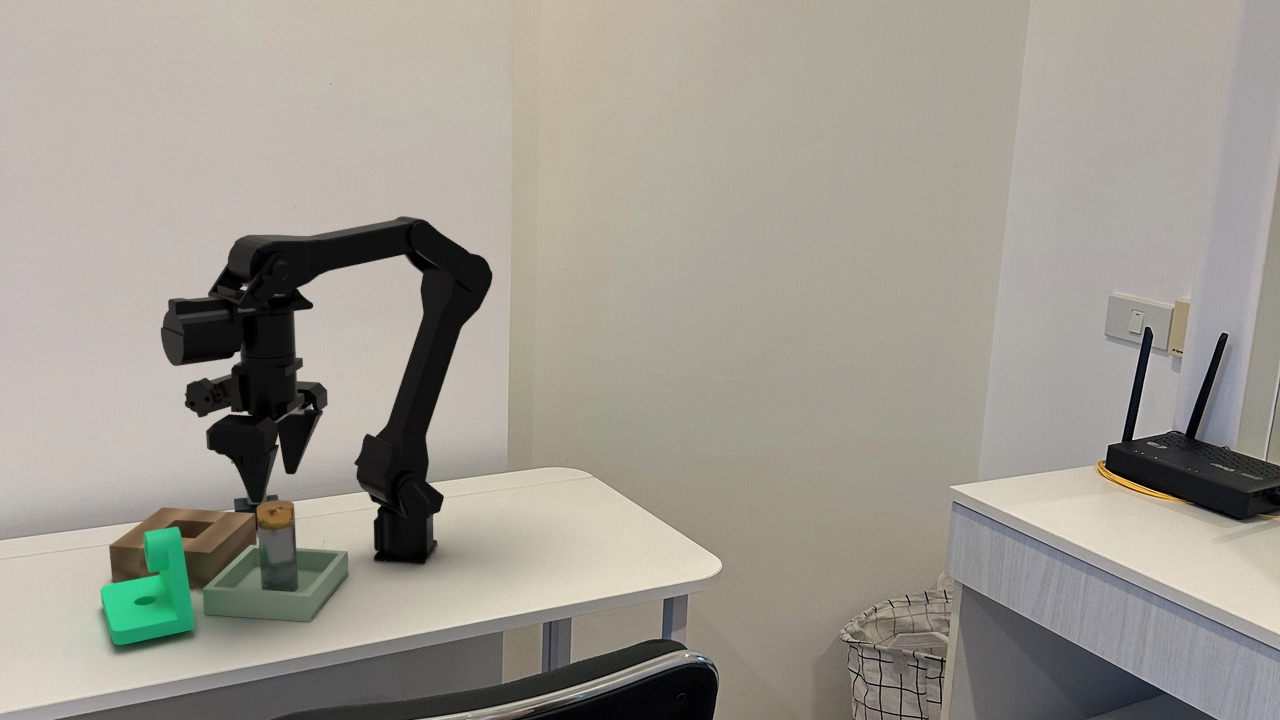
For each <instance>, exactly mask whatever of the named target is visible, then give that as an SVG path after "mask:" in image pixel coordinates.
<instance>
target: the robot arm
mask: <svg viewBox="0 0 1280 720" xmlns="http://www.w3.org/2000/svg"><path fill="white" fill-rule="evenodd" d="M399 256H404V257H405V258H406V259H407V261H408V262H409V263H410V264H411V266H412V267H414V268H415V269H416V270H418V271H419V272H420V273H421V274H422V278H421V283H420V289H419V291H420V299H421V304H422V312H423V313H422V319H421V321H420V325H419V328H418V330H417V333H416V336H415V339H414V343H413V345H412V349H411V351H410V355H409V357H408V361H407V364H406V367H405V370H404V373H403V376H402V378H401V382H400V384H399V388H398V390H397V393H396V397H395V399H394V403H393V405H392V408H391V412H390V415H389V418H388V421H387V423H386V425H385V426H384V427H383V428H382V429H381V430H380V431H379V432H378V434H376V435H375V436H374V435H372V434H370V433H366V434H365V435H364V437H363V439H362V444H361V445H362V446H361V449H360V452H359V455H358V457H357V458H356V460H355V461H354V463H353V464H354V465H355V466H357V469H356V480H357V482H358V484H359V486H360V488H361V489H362V491H364V492H366V493H368V496H369V499H370V500H371V502H372V503H376V504H377V505H380V506H379V507H378V509H377V516H376V517H375V519H374V520H373V548H374V550H375V551H377V552H376V553H375V555H374V556H373V561H374V562H383V563H384V562H386V563H399V564H413V565H415V564H417V565H423V564H426V563H427V561H428V560H429V558H430V557H431V555H432V554H433V552H434V550H435V549H436V547H437V545H438V540H436V539H434V515H435V514H438V513H440V511H441V509H442V506H443V502H444V499H445V496H444V494H442V493H441V492H440V491H438V490H437V489H436V488H435V487H433V486H432V485H431V484H430V483H429V482H427V476H428V471H429V470H428V469H429V466H430V459H429V453H428V452H429V451H428V444H427V434H428V431H429V428H430V424H431V422H432V419H433V416H434V412H435V410H436V407H437V403H438V400H439V397H440V394H441V391H442V390H443V389H442V388H443V385H444V383H445V379H446V376H447V373H448V370H449V366H450V364H451V362H452V358H453V355H454V353H455V349H456V345H457V343H458V340H459V336H460V333H461V331H462V328H463V326H464V325H465V324H466V323H467V322H468V321H469V320H470V319H471V318H473V316H474V315H475V314H476V313H477V312H478V311H479V309H480V308H481V306H483V305H482V304H483V302H484V301H485V299H486V296H487V294H488V292H489V291H490V288H491V285H492V282H493V271H492V270H491V267H490V264H489V263H488V261H487V259H486V258H485V257H484V256H482V255H480V254H476V253H471V252H469V250H467V249H466V248H464V247H463V246H461V245H460V244H458V243H457V242H455V241H454V240H452V239H450V238H449V237H447V236H445V234H443V233H442V232H440V231H439V230H438V229H437V228H435V227H434V226H433V225H432V224H431V223H430V222H429V221H427V220H425V219H424V218H417V217H412V216H407V215H405V216H404V215H403V216H402V215H401V216H398V217H396V218H395V219H392V220H386V221H382V222H381V221H380V222H377V223H370V224H365V225H359V226H354V227H350V228H344V229H339V230H333V231H328V232H323V233H318V234H311V235H291V234H289V235H288V234H247V235H245V236H242V237H239V238H238V239H236V240H235V241H234V244H233V246H232V247H231V248H230V250H229V252H228V255H227V263H226V264H225V266H224V268H223V270H222V271H221V273H220V274H219V275H218V277H217V279H215V281H214V283H213V284H212V286H211V288H210V289H209V291H208V293H207V296H205V297H195V298H183V297H178V298H177V297H175V298H170V299H168V300H167V305H168V306H167V307H168V311H166V313H165V314H164V317H163V321H162V327H160V338H161V344H162V348H163V351H164V354H165V356H166V358H167V360H168V361H169V363H170V364H171V365H172V366H174V367H180V366H187V365H192V364H193V365H194V364H201V363H208V362H214V361H221V360H228V359H232V358H233V357H234V356H235V354H236V353H240V354H239V355H240V361H238V362H237V363H235V364H233V366H232V367H231V369H230V373H229V374H225V375H224V376H220V377H216V378H214V379H211V380H209V378H208V377H203V378H201V379H199V380H194V381H191V382H189V383H188V384H186V387H185V388H186V390H185V391H186V392H185V393H184V396H185V401H184V405H185V408H187V409H189V410H190V411H191V412H193V413H196V415H197V418H200V419H201V418H204V417H207V416H208V415H209V414H211V413H214V412H217V411H221V410H224V409H227V408H230V411H231V413H233V414H231V413H230V414H229V413H228V414H227V415H225V416H224V417H222V418H220V419H219V420H217V421H216V422H214V423H213V424H212V425H211V426H210V427H209V428H207V430H205V437H206V448H207V449H208V451H214V452H215V454H217V455H220V456H225V457H226V458H228V459H229V460H230V461H231V460H232V461H233V462H234V466H235V468H236V469H237V472H238V474H239V477H240V479H241V481H242V483H243V486H244V488H245V490H247V491H246V494H247V493H248V495H249V498H250V500H251V502H252V503H261V502H262V501H263V498H264V495H265V492H266V493H267V489H268V485H269V482H270V478H271V476H272V471H273V469H274V465H275V461H276V458H277V455H278V452H279V447H280V452H281V457H282V462H283V468H284V472H285V474H286V475H296V473H297V472H298V469H299V467H300V464H301V462H302V459H303V457H304V455H305V453H306V450H307V447H308V446H309V443H310V441H311V438H312V436H313V434H314V432H315V429H316V428H317V425H318V423H319V421H320V419H321V417H322V416H323V414H324V410H323V409H324V408H326V407H327V406H328V405H329V404H328V402H329V401H328V389H326V387H324V385H323V384H322V383H321V382H318V381H316V382H315V381H302V380H298V373H297V371H298V370H300V369H302V368H303V367H304V362H303V361H304V359H303V357H297V351H296V350H297V349H296V347H297V346H296V325H295V321H296V320H295V312H297V311H299V312H300V311H306V310H307V311H308V310H312V309H313V308H314V303H313V302H312V301H310V300H309V299H307V298H306V297H305V296H304V295H303V294H302V293H301V292H300V290H299V288H301V287H303V286H305V285H308V284H309V283H311V282H312V281H314V280H315V279H316V278H317V277H319V276H321V275H323V274H325V273H328V272H330V271H334V270H341V269H344V268H348V267H353V266H358V265H362V264H367V263H372V262H376V261H381V260H385V259H390V258H395V257H399ZM243 287H245V288H246V290H245V289H241V288H243ZM312 408H313V409H312ZM243 412H247V415H246V414H242V413H243ZM234 413H238V414H234ZM239 413H241V414H239ZM278 439H279V444H277V441H278Z"/></svg>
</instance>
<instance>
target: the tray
mask: <svg viewBox="0 0 1280 720" xmlns="http://www.w3.org/2000/svg"><path fill="white" fill-rule="evenodd" d="M296 550H297V569H298V589H297V590H296V591H295V592H286V591H271V590H262V587H261V570H260V554H259V544H257V545H250V546H248V547H247V548H246V549H245V550H244V551H243V552H242V553H241V554H240V555H239V556H238V557H237V558H236V559H235V560H233V561H232V562H231V563H230V564H229V565H228V566H227V567H226V568H225V569H224V570H223V571H222V572H221V573H219V574H218V575H217V576H216V577H215V578H214V579H213V580H212V581H211V582H210V583H209V584H208V585H207V586H205V587H204V588H202V601H203V602H202V603H203V614H204V615H209V616H210V615H211V616H213V615H214V616H221V617H222V616H223V617H224V616H225V617H236V618H237V617H238V618H251V619H253V618H254V619H268V620H279V621H280V620H281V621H291V622H293V621H295V622H305V623H307V622H308V623H310V622H312V621H313V620H314V618H315V617H316V616H317V614H319V613H320V611H321V610H322V609H323V607H324V606H325V604H326V603H327V602H328V601H330V598H331V597H332V596H333V595H334V594H335V592H336V591H337V590H338V588H339V587H340V586H341V585H342V583H344V581H346V578H347V577H348V575H349V551H347V550H336V549H335V550H333V549H318V548H316V549H315V548H306V547H304V548H303V547H296Z"/></svg>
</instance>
